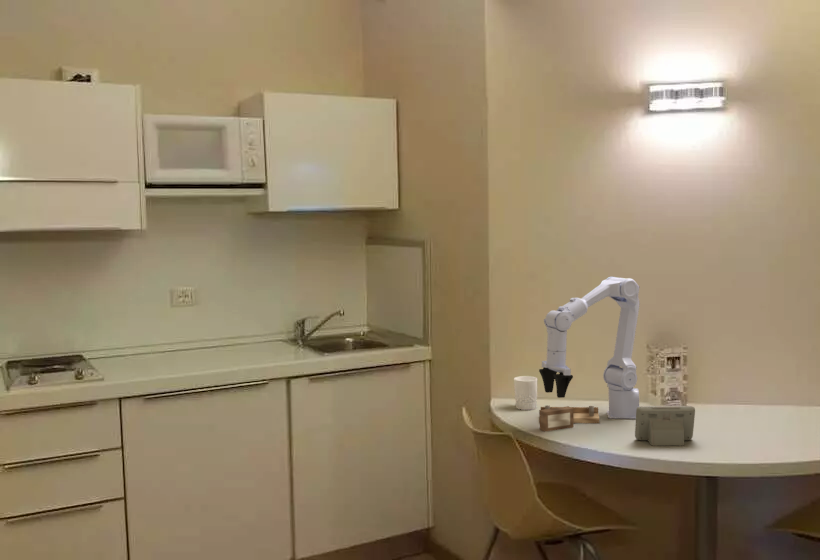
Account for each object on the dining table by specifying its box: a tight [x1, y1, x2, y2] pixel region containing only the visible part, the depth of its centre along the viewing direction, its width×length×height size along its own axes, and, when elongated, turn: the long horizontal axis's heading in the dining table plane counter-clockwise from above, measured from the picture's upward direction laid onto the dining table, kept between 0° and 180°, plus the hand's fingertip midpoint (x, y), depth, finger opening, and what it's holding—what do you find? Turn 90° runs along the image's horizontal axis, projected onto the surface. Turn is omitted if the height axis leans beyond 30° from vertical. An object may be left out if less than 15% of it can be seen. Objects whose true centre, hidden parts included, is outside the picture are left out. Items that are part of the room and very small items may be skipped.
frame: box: [538, 405, 575, 433], centre depth 242 cm, size 10×3×6 cm, turn 110°
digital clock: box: [634, 405, 696, 446], centre depth 225 cm, size 16×9×11 cm, turn 72°
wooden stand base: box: [540, 405, 600, 424], centre depth 251 cm, size 18×7×4 cm, turn 80°
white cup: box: [513, 375, 538, 411], centre depth 267 cm, size 8×8×10 cm
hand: (554, 394), depth 242 cm, fingers open, 7 cm apart
